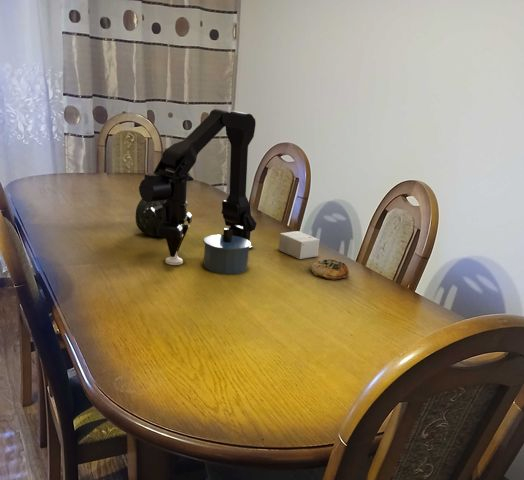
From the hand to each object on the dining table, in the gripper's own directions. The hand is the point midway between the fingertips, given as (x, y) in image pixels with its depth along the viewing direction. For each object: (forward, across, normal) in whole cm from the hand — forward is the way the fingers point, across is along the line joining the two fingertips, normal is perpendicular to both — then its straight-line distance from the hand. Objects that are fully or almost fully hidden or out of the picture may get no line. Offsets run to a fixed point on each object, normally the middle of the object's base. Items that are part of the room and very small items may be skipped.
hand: (174, 253), depth 159 cm
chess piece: (+3, 0, 0) cm, 3 cm away
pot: (+2, -1, +15) cm, 15 cm away
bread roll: (+3, -5, +44) cm, 45 cm away
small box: (0, -26, +32) cm, 41 cm away
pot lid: (-4, -1, +15) cm, 15 cm away
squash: (+3, -26, -10) cm, 28 cm away
